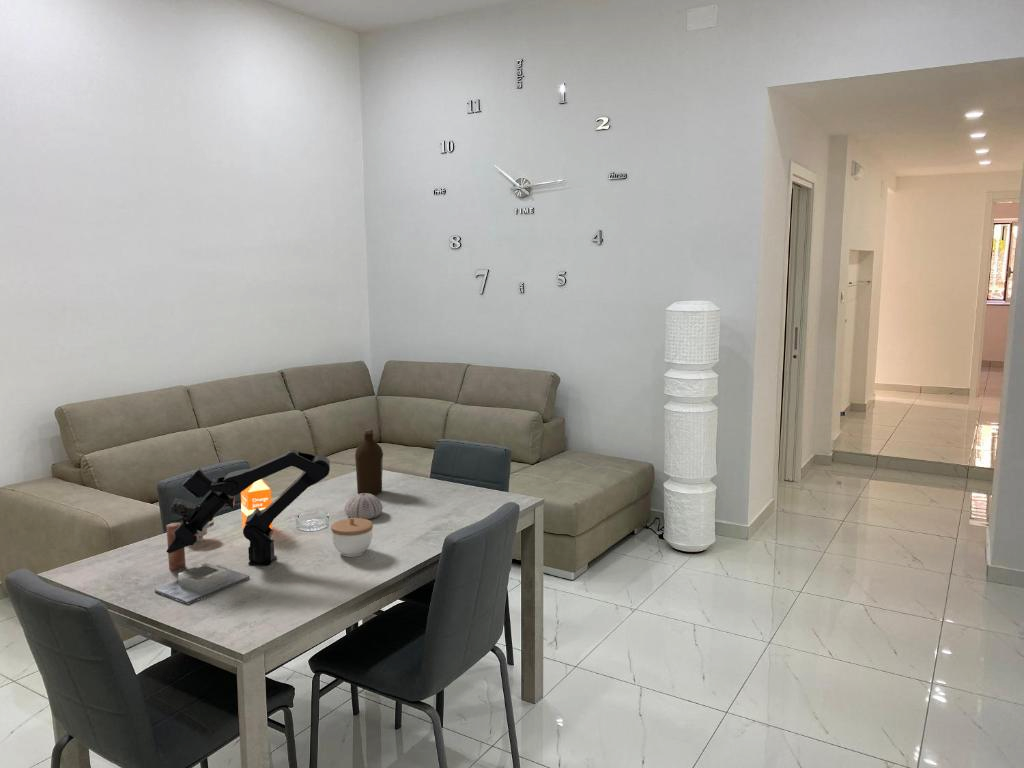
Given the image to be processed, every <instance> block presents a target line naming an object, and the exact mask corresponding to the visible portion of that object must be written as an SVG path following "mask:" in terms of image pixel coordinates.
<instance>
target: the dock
mask: <svg viewBox="0 0 1024 768" xmlns="http://www.w3.org/2000/svg"><path fill="white" fill-rule="evenodd" d="M247 579H248V580H250V579H251V578H250V575H247V574H245V573H242V572H238V571H235V570H232V569H229V568H226V567H223V566H221V565H218V564H217V565H214V564H210V563H208V562H205V563H202V564H199V565H197V566H194V567H192V568H189V569H187V570H184V571H183V570H182V571H181V572H179V573H177V580H176V581H173V582H171V583H168V584H166V585H163V586H160V587H158V588H155V589H154V593H155V592H157V593H156V594H158V593H159V594H158V595H161V594H163V595H165V596H164V597H166V596H168V597H167V598H169V597H170V598H169V599H171V598H174V599H177V600H179V601H182V602H184V603H186V604H185V605H187V604H188V603H190V604H192V603H191V602H193V601H195V602H197V601H196V600H198V599H200V600H202V599H205V598H207V597H209V595H210V596H211V595H214V594H216V593H219V592H222V591H224V590H226V589H228V588H230V587H233V586H235V585H238V584H240V583H242V582H245V581H248V580H247ZM163 595H162V596H163ZM204 597H205V598H204ZM201 598H202V599H201ZM174 599H173V600H174ZM179 601H178V602H179ZM198 601H199V600H198ZM182 602H181V603H182ZM184 603H183V604H184ZM193 603H194V602H193ZM188 605H189V604H188Z"/></svg>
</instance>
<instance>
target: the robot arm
mask: <svg viewBox="0 0 1024 768" xmlns="http://www.w3.org/2000/svg"><path fill="white" fill-rule="evenodd" d="M330 465H331V463H330V460H329V459H328V457H326V456H325V455H321V454H320V455H314V454H311V453H307V452H302V451H298V450H296V449H289V450H288V451H287V452H285V453H283V454H280V455H278V456H275V457H273V458H271V459H269V460H267V461H265V462H261V463H259V464H258V465H255V466H252V467H250V468H246V469H244V468H243V469H238V470H236V471H235V470H234V471H232V472H229V473H227V474H226V475H225V476H219V477H215V478H213V479H212V478H211V477H210V476H208V475H207V474H206V473H205V472H204V471H203V469H201V468H198V469H197V470H196V471H195V472H193V473H192V474H191V475H189V476H188V478H187V479H185V481H184V482H182V484H181V487H182V488H184V489H185V490H186V491H187V492H188V493H190V494H191V495H192V496H193V497H195V498H196V499H197V498H198V499H200V498H203V500H201V501H200V502H199V501H198V502H197V503H196V504H194V503H192V502H191V501H187V500H184V499H181V498H178V497H176V498H175V500H174V501H173V502H172V505H171V507H170V510H169V513H171V514H173V515H178V516H181V517H182V522H180V523H181V524H180V525H179V526H178V528H177V529H176V530H175V539H174V541H173V542H172V543H171V545H170V546H169V548H168V547H167V548H166V549H167V550H166V551H165V553H167V554H168V553H172V552H174V551H177V550H179V549H182V548H184V549H185V548H187V547H191V546H193V545H194V544H195V543H197V542H198V541H197V540H198V537H199V533H198V532H197V531H198V530H199V531H200V532H201V531H202V530H203V529H204V527H205V526H206V525H207V524H208V523H209V522H210V521H212V520H213V519H214V520H215V517H216V515H217V514H219V512H220V511H221V510H222V509H224V507H226V505H228V506H229V507H230V508H232V509H233V508H234V506H235V504H236V503H235V498H236V496H237V495H239V494H241V492H242V491H243V490H245V489H246V488H248V487H249V486H250V485H251V484H253V483H254V482H256V481H258V480H260V479H262V480H263V479H264V478H267V477H269V476H271V475H274V474H276V473H278V472H281V471H282V470H285V469H287V468H290V467H291V466H292V467H294V468H297V469H298V470H301V471H302V473H301V474H300V475H299V477H297V479H295V480H294V481H293V482H291V484H290V485H289V486H287V488H286V489H285V490H284V491H282V492H281V493H280V494H279V495H278V496H277V497H276V498H275V499H274V500H273V501H271V504H270V505H269V506H268V507H266V508H265V509H263V510H261V511H260V510H259V509H258V508H256V509H255V511H254V512H253V513H252V514H251V515H248V516H247V519H246V522H245V526H244V529H243V528H242V532H243V533H242V534H243V536H244V538H245V539H246V540H248V541H249V546H248V549H247V550H248V563H247V565H249V566H252V565H253V566H271V564H272V563H273V562H274V561H275V560H276V559H277V557H278V556H277V555H275V539H272V535H273V531H274V529H273V528H272V529H271V528H270V527H269V526H270V524H271V523H272V524H273V522H274V521H275V519H276V518H277V517H278V516H279V515H281V513H283V511H284V510H286V509H287V508H288V507H289V506H290V505H291V504H292V503H293V502H294V501H295V500H296V499H297V498H298V497H299V496H301V495H302V494H303V493H304V492H305V491H306V490H307V489H308V488H310V487H311V486H314V485H316V484H318V483H319V482H321V481H322V480H324V479H325V478H326V477H327V476H329V474H330V472H331V471H330V469H331V466H330ZM205 496H206V497H205Z"/></svg>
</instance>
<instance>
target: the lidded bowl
mask: <svg viewBox="0 0 1024 768" xmlns="http://www.w3.org/2000/svg"><path fill="white" fill-rule="evenodd" d="M373 525H374V524H373V522H372V520H371V519H362V518H350V517H348V518H344V519H338V520H337V521H334V522H333V523H332V524H331V525H330V530H331V538H332V539H331V540H332V544H333V545H334V548H335V550H337V552H338V553H340V555H341V556H342V557H346V558H354V557H355V556H356V557H360V556H363V555H364V554H365V552H366V551H367V550H368V549H369V547H370V545H371V544H372V543H371V542H372V539H373V527H374V526H373ZM363 553H364V554H363ZM356 557H355V558H356Z"/></svg>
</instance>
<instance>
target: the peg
mask: <svg viewBox="0 0 1024 768" xmlns="http://www.w3.org/2000/svg"><path fill="white" fill-rule="evenodd" d="M181 523H182V522H171V523H169V524H166V537H167V539H166V540H167V541H166V542H167V549H168V548H169V546H170V545H171V543H172V542H173V541H174V539H175V530H176V529H177V528H178V526H179V525H180V524H181ZM185 553H186V551H185V547H184V548H182V549H179V550H177V551H174V552H172V553H168V552H167V555H168V570H169V569H170V570H169V571H172V570H177V571H180V570H179V569H182V570H183V568H184V569H185V568H186V554H185Z"/></svg>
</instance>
